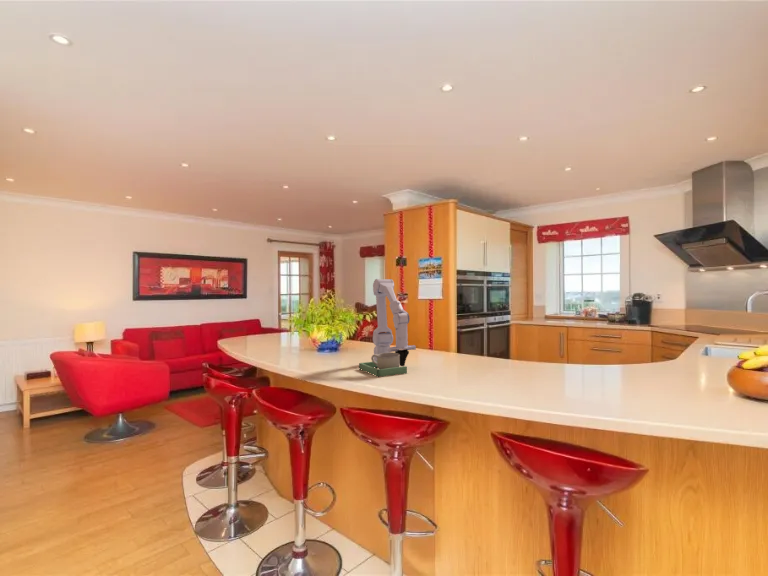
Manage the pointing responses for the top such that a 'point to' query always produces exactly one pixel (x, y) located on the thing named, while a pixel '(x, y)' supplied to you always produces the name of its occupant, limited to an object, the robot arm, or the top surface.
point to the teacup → (387, 360)
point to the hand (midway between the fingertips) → (402, 365)
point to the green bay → (381, 372)
